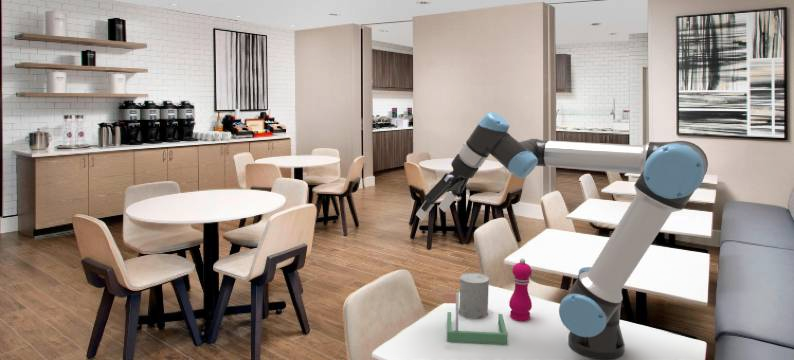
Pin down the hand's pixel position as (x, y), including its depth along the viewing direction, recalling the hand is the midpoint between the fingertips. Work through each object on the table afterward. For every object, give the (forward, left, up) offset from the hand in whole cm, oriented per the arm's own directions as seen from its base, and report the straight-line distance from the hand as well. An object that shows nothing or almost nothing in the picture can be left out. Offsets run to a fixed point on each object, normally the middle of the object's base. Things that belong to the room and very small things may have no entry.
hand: (430, 213), depth 158 cm
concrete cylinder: (-14, -9, -36) cm, 40 cm away
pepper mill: (-29, -7, -36) cm, 47 cm away
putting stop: (-14, +5, -36) cm, 39 cm away
